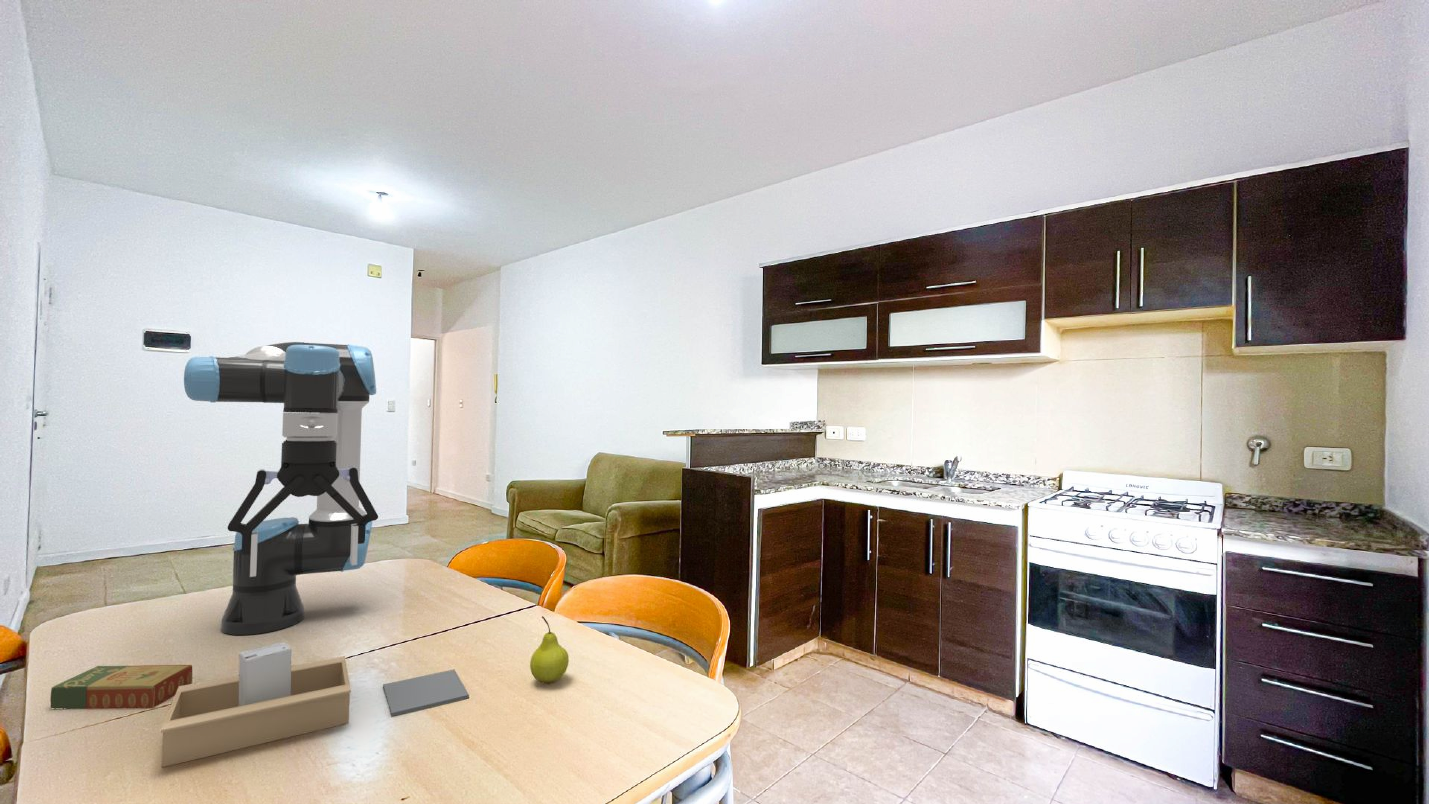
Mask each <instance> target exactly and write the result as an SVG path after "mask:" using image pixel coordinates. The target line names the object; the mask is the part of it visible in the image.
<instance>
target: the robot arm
mask: <svg viewBox="0 0 1429 804" xmlns="http://www.w3.org/2000/svg"><path fill="white" fill-rule="evenodd" d="M373 358H374V357H373V355H372V351H371V350H370V349H369V348H368V347H366V346H359V345H352V344H335V343H318V342H304V341H303V342H301V341H290V342H289V341H288V342H279V343H273V344H268V345H261V346H257V347H254V348H253V349H250V350H249V351H247V352H246V353H245V354H243V355H241V354H240V355H238V356H232V357H230V356H229V357H217V356H213V355H210V356H194V357H191V358H190V359H189V360H188V361H187V363H186V364H185V367H184V371H183V372H184V374H183V386H184V391H185V394H186V396H187V397H188V398H189V399H190V400H192V401H195V402H196V401H197V402H210V403H265V404H267V403H268V404H269V403H270V404H283V411H282V428H281V429H282V431H281V432H282V433H281V435H282V437H283V438H285V440H284V441H283V442H281V456H280V457H281V458H280V459H281V461H280V468H279V470H277V471H275V470H274V471H273V470H265V469H262V468H261V469H258V470H257V472H256V476H255V482H254V484H253V486H252V487H251V489H250V491H249V492H248V493H247V496H246V497H245V499H243V501H242V503H241V504H240V506H239V508H238V509H237V510H236V512H235V514H234V515H233V516H232V518H231V519H230V521H229V522H228V525H227V530H228V531H229V532H235V535H234V536H235V537H234V543H233V547H232V551H233V565H232V566H233V567H232V568H233V569H232V594H231V597H230V599H229V601H228V603H227V606H226V609H225V610H224V614H223V615H222V618H221V623H220V624H221V626H220V631H221V632H222V633H224V634H228V635H236V636H246V635H256V634H257V635H258V634H264V633H270V632H275V631H278V630H282V629H286V628H289V627H292V626H295V625H296V624H298V623H300V622H301V621H303V619H304V618H305V607H304V604H303V601H302V598H301V595H300V593H299V590H298V587H297V575H309V574H321V573H322V574H323V573H335V572H341V573H343V572H345V571H352V570H359V569H360V568H362V567H364V565H365V564H366V559H367V554H368V548H369V543H370V537H371V531H372V527H373V521H377V520H378V519H379V515H378V513H377V510H375V508H374V506H373V504H372V502H371V500H370V499H369V497H368V495H367V493H366V492H365V490H364V488H363V486H362V484H361V482H360V481H361V453H362V452H361V448H362V447H361V446H362V443H361V442H362V441H361V440H362V415H363V414H362V411H363V408H364V407H365V406H366V405H368V404H369V403H370V396H374V395H376V394H377V383H376V373H375V365H374V359H373ZM274 479H277V480H278V481H279V483H280V484H281V485H282V486H283V487H282V488H281V489H280V490H279V491H278V492H277V493H276V494H275V495H274V496H273V497H272V498H271V499H270V500H269V501H268V502H267V503H266V504H265V505H264V506H262V508H261V509H260V510H258V512H257V513H256V514H255V515H254V516H253V517H252V518H250V520H248V521H247V522H246V523H243V520H244V519H245V517H246V516H247V514H248V512H249V511H250V509H251V508H252V506H253V504H254V503H255V502H256V500H257V498H258V497H259V495H260V494H261V492H262V491H263V489H264V486H265V485H269V484H271V483H272V481H273V480H274ZM290 495H291V496H294V497H296V498H302V497H307V496H312V497H316V508H315V510H314V511H313V512H312V513H311V514H310V515H308V523H300V521H299V519H298V518H297V517H294V516H293V517H281V518H280V517H279V518H273V519H272V518H271V519H267V520H266V518H267V517H269V516H270V514H272V513H273V512H274V511H275V510H276V509H277V508H278V507H279V506H280V505H281V504H282V503H283V502H284V501H285V500H286V499H287V498H288V497H289V496H290ZM360 504H361V505H362V507H363V509H364V510H363V509H362V508H361V507H360Z"/></svg>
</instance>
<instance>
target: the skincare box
mask: <svg viewBox="0 0 1429 804" xmlns="http://www.w3.org/2000/svg"><path fill="white" fill-rule="evenodd" d="M238 655H239V657H238V675H239V706H244V705H249V704H253V703H258V702H263V701H268V700H273V699H278V698H283V697H288V696H291V666H292V648H291V646H289V645H288V644H287V643H286V642H285V641H283V642H278V643H274V644H271V645H266V646H262V647H257V648H254V649H249V650H245V651H240V652H239V654H238Z"/></svg>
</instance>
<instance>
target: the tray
mask: <svg viewBox="0 0 1429 804" xmlns="http://www.w3.org/2000/svg"><path fill="white" fill-rule="evenodd" d="M350 684H351V683H350V678H349V673H348V668H347V660H346V656H345V655H344V656H337V657H334V658H332V657H331V658H327V659H321V660H315V661H310V662H305V663H301V664H300V663H298V664H295V665H293V664H292V665H291V696H288V697H283V698H278V699H273V700H268V701H263V702H258V703H253V704H249V705H244V706H239V674H238V675H234V676H227V677H223V678H217V679H211V680H206V681H201V682H195V683H192V684H189V685H184V686H179V687H178V689H177V692H176V694H175V696H173V700H172V702H171V704H170V707H169V709H168V711H167V714H166V716H165V718H164V721H163V723H162V727H161V728H160V733H162V746H161V747H162V750H161V753H162V754H161V768H165V767H169V766H173V765H174V766H175V765H177V764H182V763H185V762H191V761H194V760H199V759H202V758H207V757H211V756H216V755H220V754H224V753H227V752H228V753H229V752H232V751H236V750H240V749H244V748H248V747H254V746H257V745H261V744H266V743H268V742H270V743H271V742H275V741H278V740H283V739H286V738H292V737H295V736H299V735H304V734H309V733H313V732H317V731H320V730H325V729H329V728H332V727H333V728H334V727H336V726H337V727H338V726H341V725H347V724H349V722H350V700H351V699H350V698H351V695H350V694H351V692H352V688H351V685H350Z"/></svg>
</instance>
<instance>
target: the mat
mask: <svg viewBox="0 0 1429 804" xmlns="http://www.w3.org/2000/svg"><path fill="white" fill-rule="evenodd" d="M382 688H383V692H384V696H385V699H386V703H387V706H388V710H389V713H390V716H391V718H393V717H396V716H400V715H404V714H409V713H414V712H417V711H422V710H425V709H429V708H434V707H437V706H443V705H446V704H449V703H450V704H451V703H454V702H458V701H462V700H466V699H470V694H469V692H468V690H467V688H466V687H465V685H464V683H463V681H462V680H461V678H460V676H459V675H458V674H457V672H456V670H455V669H449V670H444V671H440V672H435V673H430V674H425V675H422V676H417V677H411V678H406V679H402V680H397V681H392V682H388V683H384V684H382Z"/></svg>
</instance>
